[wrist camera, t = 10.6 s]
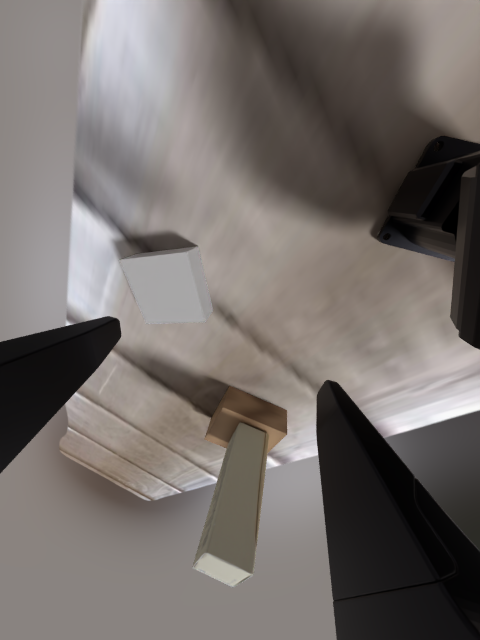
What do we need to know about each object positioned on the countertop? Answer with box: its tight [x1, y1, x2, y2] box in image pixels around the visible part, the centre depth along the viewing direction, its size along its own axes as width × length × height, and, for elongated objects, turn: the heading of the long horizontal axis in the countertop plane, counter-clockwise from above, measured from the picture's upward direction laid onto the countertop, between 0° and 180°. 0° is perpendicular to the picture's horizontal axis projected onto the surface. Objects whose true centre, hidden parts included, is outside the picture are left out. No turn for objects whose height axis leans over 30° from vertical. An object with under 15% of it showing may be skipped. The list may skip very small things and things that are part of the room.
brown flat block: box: [205, 386, 287, 453], centre depth 30 cm, size 9×9×4 cm
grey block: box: [119, 246, 213, 324], centre depth 21 cm, size 7×7×3 cm
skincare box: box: [193, 422, 269, 587], centre depth 23 cm, size 6×4×12 cm
